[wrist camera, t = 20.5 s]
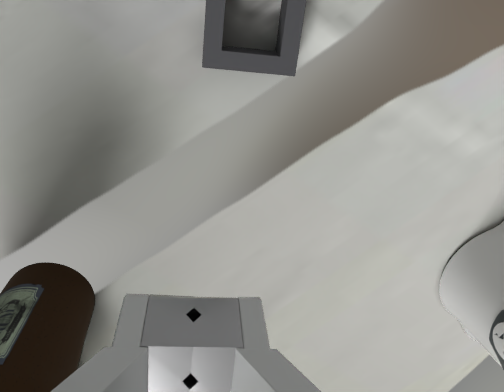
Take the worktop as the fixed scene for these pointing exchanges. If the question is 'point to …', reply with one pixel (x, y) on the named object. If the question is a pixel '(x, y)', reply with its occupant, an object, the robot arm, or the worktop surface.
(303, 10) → the holster
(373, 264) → the worktop surface
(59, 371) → the olive oil
